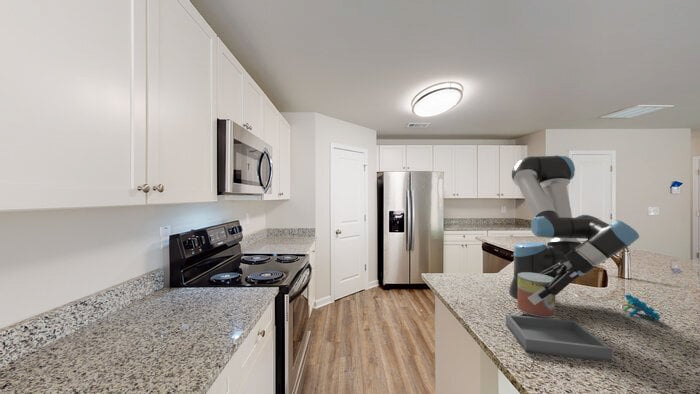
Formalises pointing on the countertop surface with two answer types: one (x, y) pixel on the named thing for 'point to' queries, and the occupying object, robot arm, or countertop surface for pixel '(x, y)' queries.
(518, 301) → the canned food
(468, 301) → the countertop surface
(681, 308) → the countertop surface
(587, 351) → the tray
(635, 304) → the blue irregular piece
